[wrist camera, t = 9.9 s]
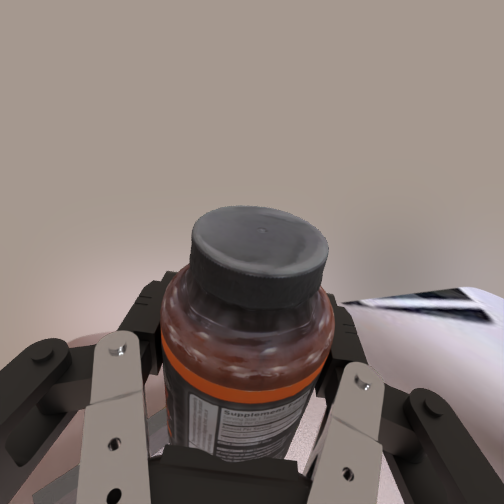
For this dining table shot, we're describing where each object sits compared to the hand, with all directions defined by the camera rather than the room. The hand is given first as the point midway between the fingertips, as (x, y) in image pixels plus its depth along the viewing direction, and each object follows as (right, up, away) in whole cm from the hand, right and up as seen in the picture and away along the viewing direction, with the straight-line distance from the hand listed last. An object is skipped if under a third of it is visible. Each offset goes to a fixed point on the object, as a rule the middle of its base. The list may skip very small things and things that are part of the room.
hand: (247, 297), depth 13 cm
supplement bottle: (-1, -7, +1) cm, 7 cm away
